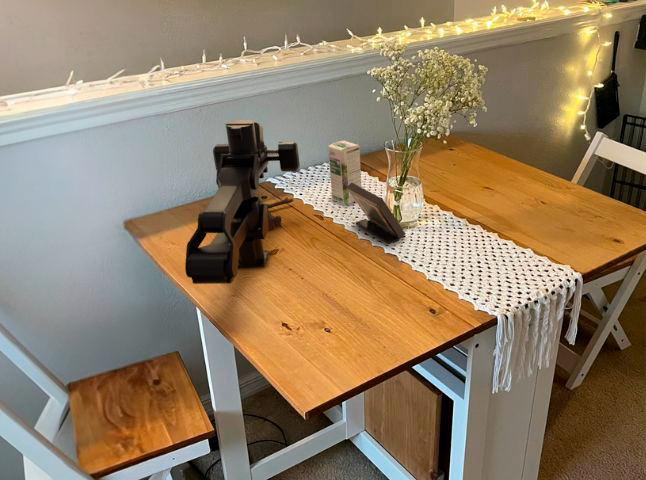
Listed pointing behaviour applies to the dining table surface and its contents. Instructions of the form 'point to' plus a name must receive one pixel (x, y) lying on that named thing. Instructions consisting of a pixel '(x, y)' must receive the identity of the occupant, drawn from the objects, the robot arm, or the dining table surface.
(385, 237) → the frame stand
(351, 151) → the syrup box
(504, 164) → the dining table surface
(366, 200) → the picture frame
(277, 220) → the brown spindly part
